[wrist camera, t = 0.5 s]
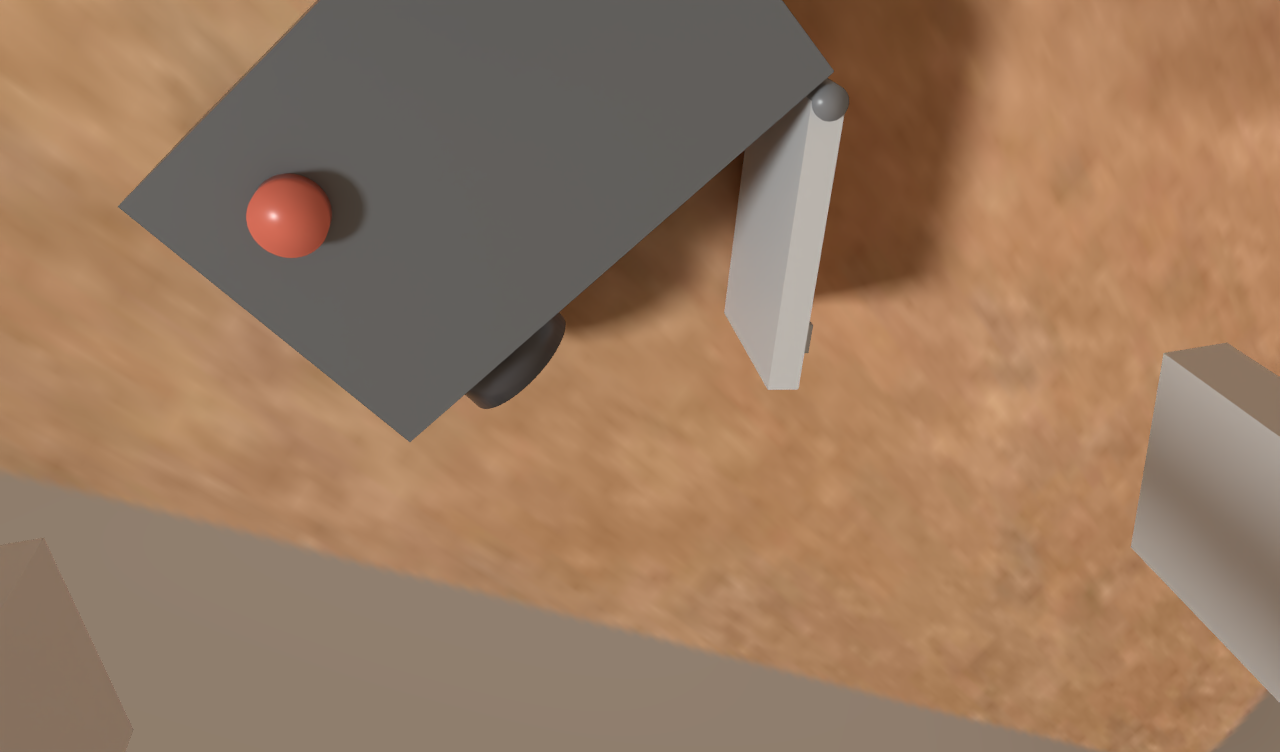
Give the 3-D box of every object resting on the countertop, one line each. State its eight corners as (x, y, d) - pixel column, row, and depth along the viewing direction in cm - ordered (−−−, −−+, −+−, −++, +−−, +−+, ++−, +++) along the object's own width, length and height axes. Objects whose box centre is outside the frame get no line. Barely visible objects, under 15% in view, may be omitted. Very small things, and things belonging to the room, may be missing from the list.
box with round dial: (183, 137, 32) (108, 216, 25) (557, -246, 29) (588, -273, 22) (451, 370, 37) (449, 489, 30) (793, 67, 34) (878, 124, 27)
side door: (722, 310, 37) (769, 392, 32) (756, 43, 33) (817, 83, 28) (764, 310, 38) (818, 392, 32) (803, 46, 33) (872, 86, 28)
